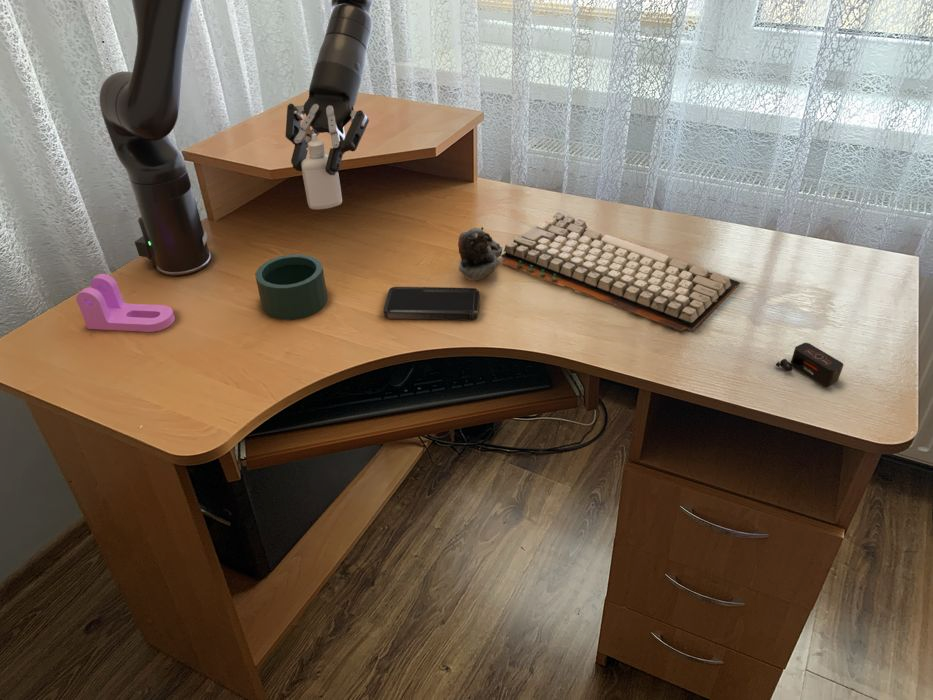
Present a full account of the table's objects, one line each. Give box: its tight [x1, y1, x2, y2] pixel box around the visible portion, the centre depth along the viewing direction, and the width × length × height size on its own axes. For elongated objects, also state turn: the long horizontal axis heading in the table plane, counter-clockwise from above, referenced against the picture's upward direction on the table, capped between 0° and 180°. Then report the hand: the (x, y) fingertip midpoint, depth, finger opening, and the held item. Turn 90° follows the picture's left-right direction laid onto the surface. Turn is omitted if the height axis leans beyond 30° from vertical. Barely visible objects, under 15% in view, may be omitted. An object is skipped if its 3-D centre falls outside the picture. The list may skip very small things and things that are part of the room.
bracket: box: [75, 273, 176, 333], centre depth 116 cm, size 13×6×7 cm, turn 83°
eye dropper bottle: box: [301, 134, 343, 210], centre depth 118 cm, size 4×6×12 cm
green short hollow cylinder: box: [254, 253, 328, 321], centre depth 120 cm, size 11×11×6 cm
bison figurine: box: [457, 226, 503, 281], centre depth 125 cm, size 12×7×10 cm, turn 173°
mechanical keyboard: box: [500, 211, 741, 332], centre depth 126 cm, size 38×19×3 cm, turn 51°
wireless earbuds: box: [775, 342, 844, 388], centre depth 102 cm, size 5×7×3 cm, turn 31°
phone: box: [383, 286, 480, 321], centre depth 119 cm, size 8×1×15 cm
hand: (313, 170), depth 116 cm, fingers closed on eye dropper bottle, 5 cm apart
